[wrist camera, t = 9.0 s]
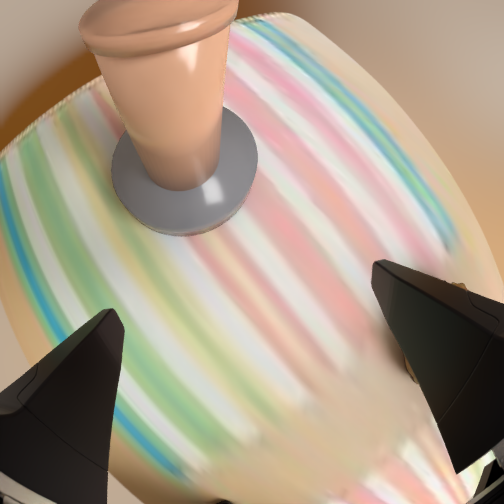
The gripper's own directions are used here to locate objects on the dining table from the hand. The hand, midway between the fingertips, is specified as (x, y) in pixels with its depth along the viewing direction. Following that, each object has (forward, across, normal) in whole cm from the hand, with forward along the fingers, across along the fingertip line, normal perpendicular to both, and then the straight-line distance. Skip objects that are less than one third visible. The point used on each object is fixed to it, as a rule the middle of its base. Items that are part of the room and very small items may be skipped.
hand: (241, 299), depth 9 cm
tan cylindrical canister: (+13, +3, -4) cm, 14 cm away
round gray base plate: (+15, +4, -2) cm, 16 cm away
